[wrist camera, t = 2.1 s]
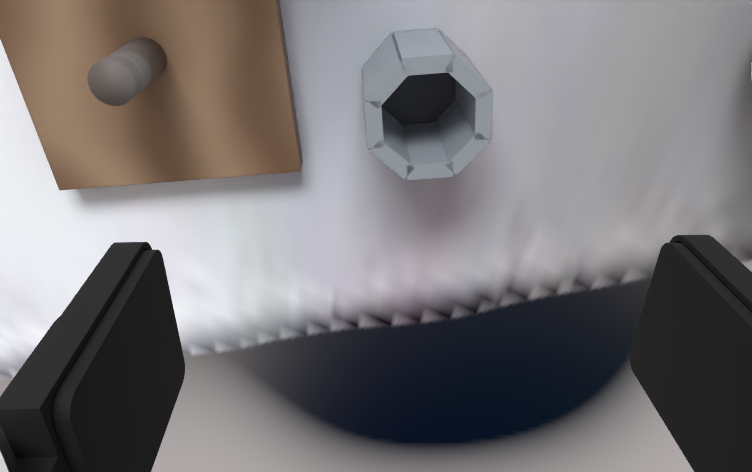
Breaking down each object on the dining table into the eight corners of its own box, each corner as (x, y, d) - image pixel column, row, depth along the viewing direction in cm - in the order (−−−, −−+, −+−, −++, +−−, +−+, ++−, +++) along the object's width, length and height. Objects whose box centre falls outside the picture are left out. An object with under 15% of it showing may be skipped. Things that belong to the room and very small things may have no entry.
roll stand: (262, -112, 27) (239, -116, 21) (302, 161, 34) (292, 211, 29) (-30, -88, 27) (-130, -86, 22) (70, 179, 34) (15, 233, 29)
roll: (470, 25, 31) (494, 50, 25) (469, 132, 34) (490, 174, 28) (359, 34, 31) (360, 61, 25) (367, 140, 34) (370, 183, 28)
